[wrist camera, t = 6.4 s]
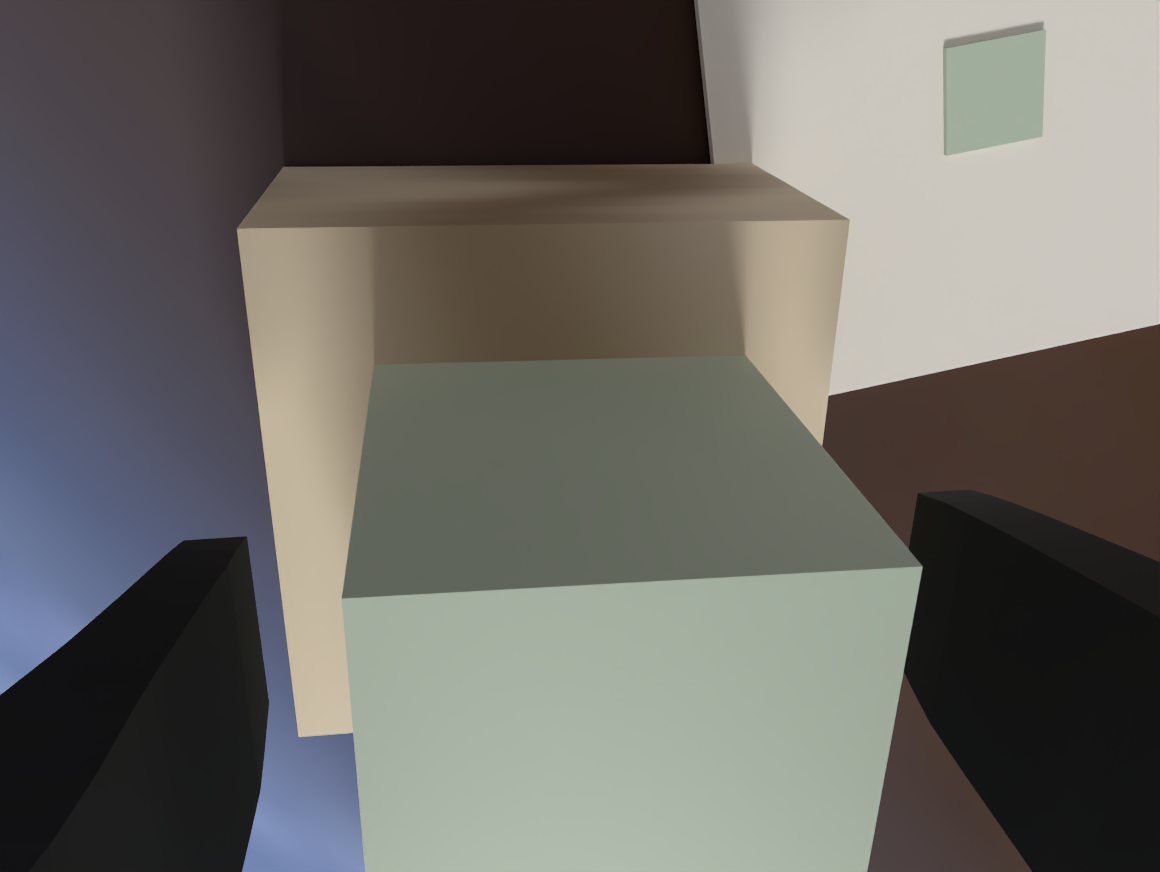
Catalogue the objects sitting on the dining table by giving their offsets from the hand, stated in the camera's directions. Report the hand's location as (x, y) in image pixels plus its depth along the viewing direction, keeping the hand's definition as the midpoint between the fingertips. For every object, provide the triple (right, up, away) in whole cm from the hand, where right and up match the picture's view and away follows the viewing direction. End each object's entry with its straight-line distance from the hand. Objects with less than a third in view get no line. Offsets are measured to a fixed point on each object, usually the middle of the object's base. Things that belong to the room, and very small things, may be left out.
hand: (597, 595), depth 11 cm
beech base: (-1, +3, +6) cm, 6 cm away
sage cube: (0, +1, +2) cm, 2 cm away
